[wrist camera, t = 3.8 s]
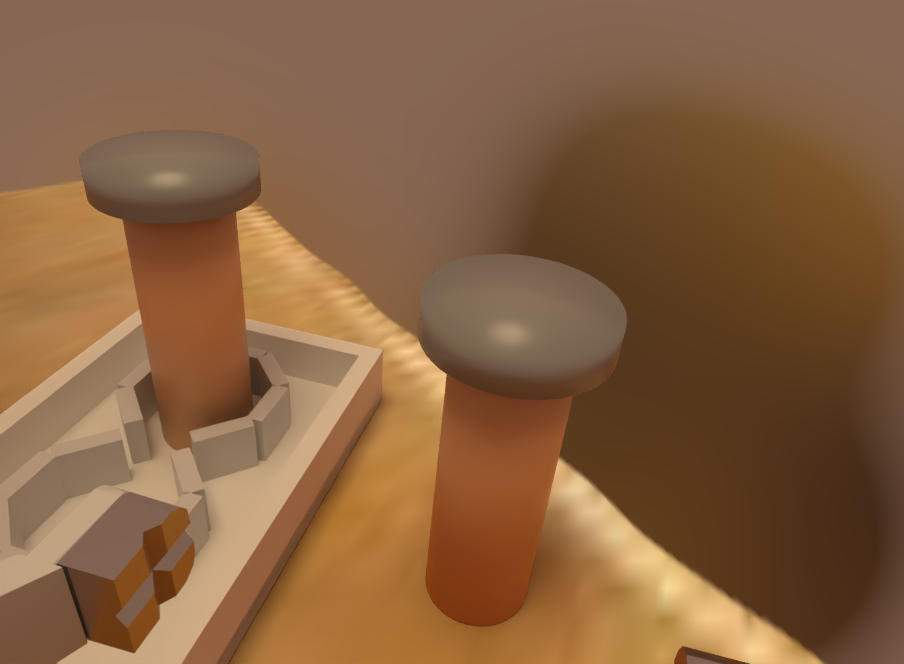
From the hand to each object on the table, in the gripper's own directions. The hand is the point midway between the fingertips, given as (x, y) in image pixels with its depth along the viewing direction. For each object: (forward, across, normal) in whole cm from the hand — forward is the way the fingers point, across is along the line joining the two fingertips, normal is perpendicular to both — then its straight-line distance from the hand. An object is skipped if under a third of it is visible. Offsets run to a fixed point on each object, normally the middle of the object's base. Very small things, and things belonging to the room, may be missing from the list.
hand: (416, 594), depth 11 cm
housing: (+13, +15, +15) cm, 25 cm away
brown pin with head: (+13, 0, +15) cm, 20 cm away
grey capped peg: (+16, +15, +14) cm, 26 cm away
